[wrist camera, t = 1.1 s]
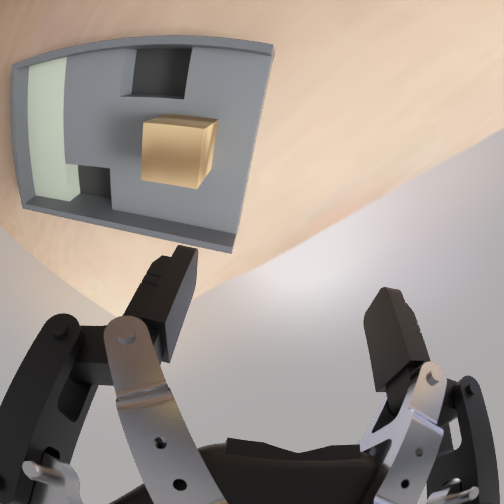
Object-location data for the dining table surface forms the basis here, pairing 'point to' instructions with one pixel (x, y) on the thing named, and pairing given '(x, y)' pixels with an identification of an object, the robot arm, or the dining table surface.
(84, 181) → the box
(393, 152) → the dining table surface
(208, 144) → the oak block
